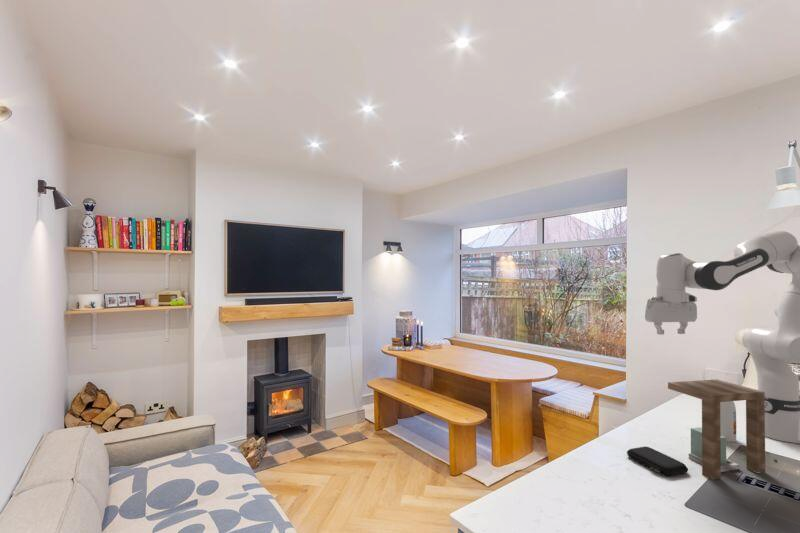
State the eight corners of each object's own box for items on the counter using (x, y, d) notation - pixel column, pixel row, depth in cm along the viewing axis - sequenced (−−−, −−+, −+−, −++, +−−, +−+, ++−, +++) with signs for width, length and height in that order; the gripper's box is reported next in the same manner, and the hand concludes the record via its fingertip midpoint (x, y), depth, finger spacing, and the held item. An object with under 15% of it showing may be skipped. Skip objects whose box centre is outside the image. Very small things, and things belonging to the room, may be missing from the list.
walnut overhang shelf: (716, 451, 128) (716, 379, 128) (765, 472, 114) (764, 391, 115) (668, 457, 123) (668, 382, 124) (712, 479, 110) (712, 395, 110)
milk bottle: (730, 444, 133) (729, 386, 134) (704, 436, 140) (704, 381, 141) (740, 440, 137) (740, 384, 137) (714, 432, 144) (714, 379, 144)
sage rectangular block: (700, 454, 125) (700, 427, 125) (726, 467, 117) (726, 437, 118) (690, 456, 124) (690, 428, 124) (716, 468, 116) (716, 438, 117)
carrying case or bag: (621, 457, 123) (664, 480, 109) (621, 447, 124) (664, 470, 110) (646, 453, 127) (691, 475, 113) (646, 443, 127) (691, 465, 113)
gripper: (655, 297, 136) (655, 336, 136) (700, 297, 141) (700, 334, 141) (640, 296, 143) (640, 333, 142) (684, 296, 147) (684, 332, 147)
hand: (670, 334), depth 142 cm, fingers open, 8 cm apart
